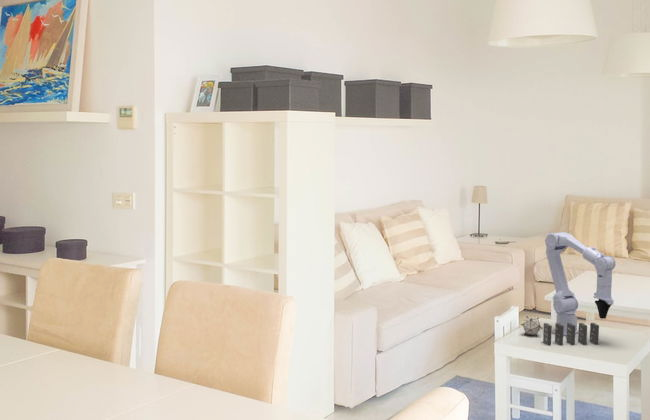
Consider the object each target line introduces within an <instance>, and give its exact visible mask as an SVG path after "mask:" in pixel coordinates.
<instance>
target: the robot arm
mask: <svg viewBox="0 0 650 420" xmlns="http://www.w3.org/2000/svg"><path fill="white" fill-rule="evenodd" d="M544 242H545V247H546V249H545V250H546V251H545V254H546V258H547V259H546V260H547V261H548V266H549V270H550V273H551V278H552V281H553V285H554V289H555V293H554V295H553V296H552V300H553V303H552V306H553V310H554V311H555V314H556V321H555V324H556V323H560V324H561V325H563V326H564V329H563V336H566V337H567V323H571V324H573V325H575V326H576V327H575V335H576V334H578V331H579V330H578V316H577V314H576V311H577V310H578V307H579V301H578V300H577V299H576V297H575V293H574V292H572V291H571V290H570V288H569V285H568V282H567V281H568V280H567V278H566V274H565V270H564V266H563V265H564V264H563V262H562V257H561V254H562V252H563V251H564V250H565V249H566V248H568V247H569V248H571V249H572V250H574V251H576V252H578V253H580V254H582V258H583V260H586V261H587V262H589V263H590V264H592V265H593V266H594V269H596V292H594V293H593V298H594V299H597V300H594V303H595V305H596V308H597V311H598V316H599V318H600V319H601V320H602V319H607V315H608V312H609V310H610V308H611V306H612V305H614V299H613V298H612V286H613V285H612V281H613V270H614V269H615V268H616V260H615V258H614V257H612V256H611V255H607V256H606V255H605V253H604V252H603V253H602V252H600V251H599V250H597V248H596V247H595V246H588V247H587V246H586V245H585V244H583V243H582V242H580V241H579V240H578V239H577V238H575V237H574V236H573V234H571V233H569V232H568V231H562V232H561V231H560V232H549V233H548V234H547V235H546V237H545V239H544ZM551 334H555V330H553V331H552V332H551Z"/></svg>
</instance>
